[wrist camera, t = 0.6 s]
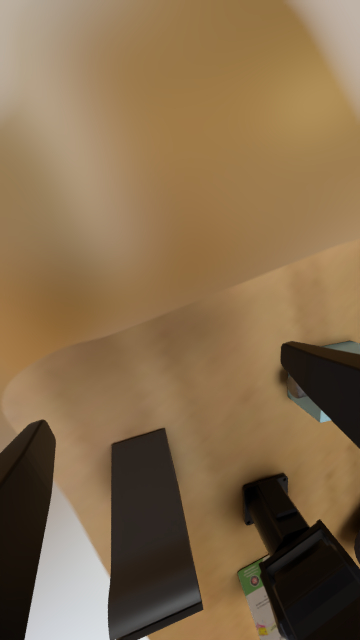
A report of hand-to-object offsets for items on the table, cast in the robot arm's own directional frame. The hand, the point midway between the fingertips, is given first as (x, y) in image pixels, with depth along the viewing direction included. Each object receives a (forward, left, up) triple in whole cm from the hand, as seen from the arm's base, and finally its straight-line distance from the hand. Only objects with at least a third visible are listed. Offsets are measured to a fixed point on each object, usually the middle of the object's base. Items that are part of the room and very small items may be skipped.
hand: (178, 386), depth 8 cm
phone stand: (-18, +3, -15) cm, 23 cm away
